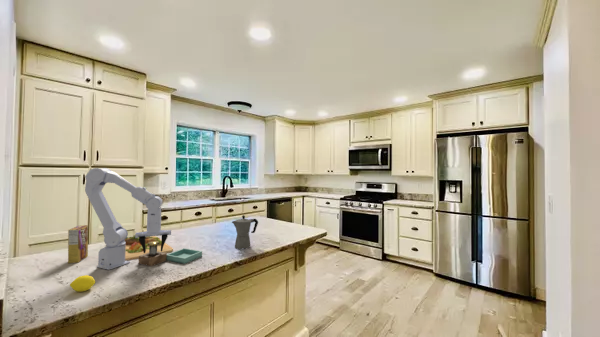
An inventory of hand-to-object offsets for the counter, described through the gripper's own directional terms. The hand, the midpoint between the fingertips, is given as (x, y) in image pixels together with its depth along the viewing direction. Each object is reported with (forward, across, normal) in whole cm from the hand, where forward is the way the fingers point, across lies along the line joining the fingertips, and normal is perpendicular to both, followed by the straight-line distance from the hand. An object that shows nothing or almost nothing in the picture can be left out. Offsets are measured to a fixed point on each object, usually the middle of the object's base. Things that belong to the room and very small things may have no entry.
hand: (153, 251), depth 120 cm
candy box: (+5, -31, +16) cm, 35 cm away
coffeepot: (+5, +46, +8) cm, 47 cm away
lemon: (+5, -21, -22) cm, 31 cm away
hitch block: (+5, 0, 0) cm, 5 cm away
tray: (+5, +14, 0) cm, 14 cm away
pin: (+5, 0, 0) cm, 5 cm away
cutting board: (+6, -6, +26) cm, 28 cm away
